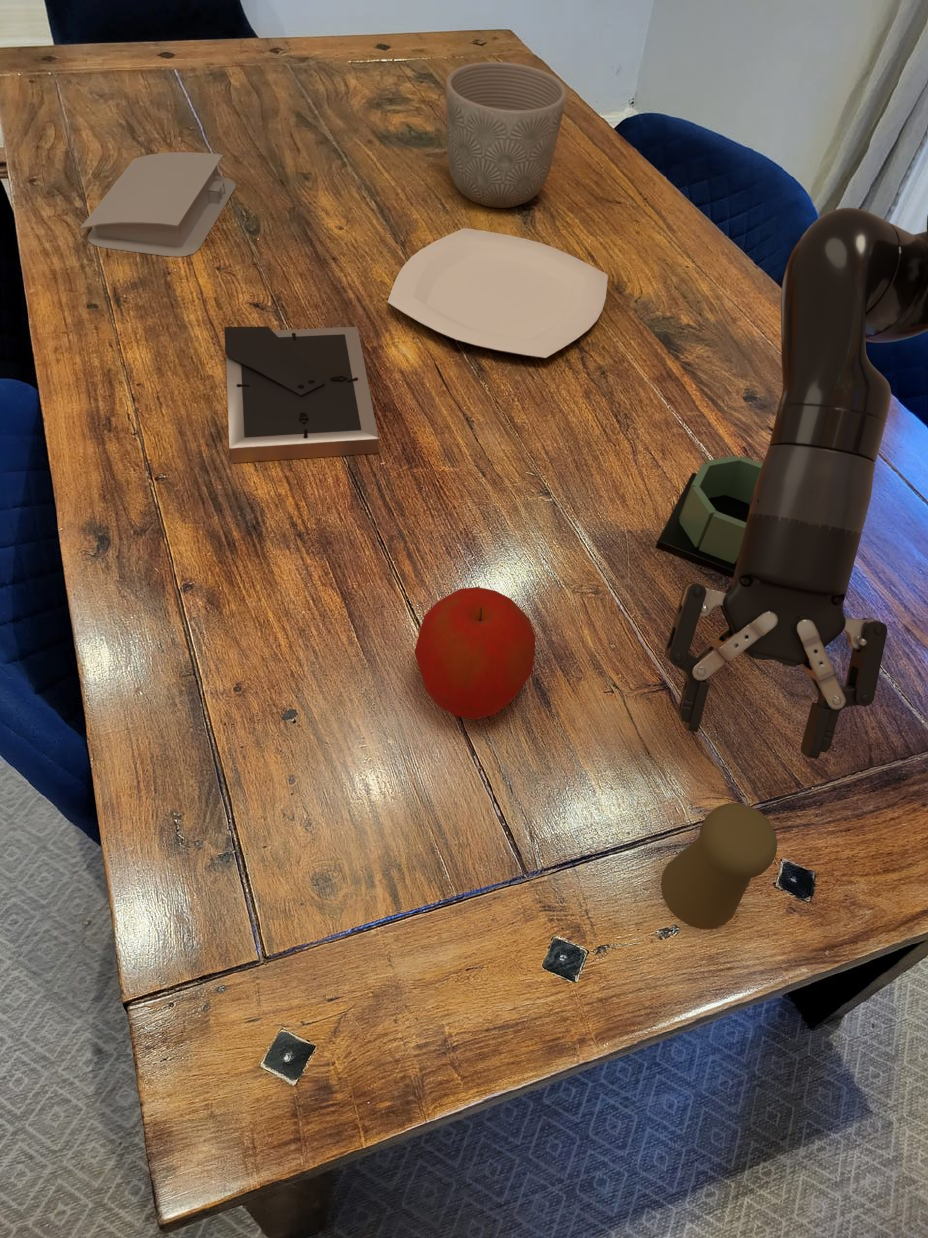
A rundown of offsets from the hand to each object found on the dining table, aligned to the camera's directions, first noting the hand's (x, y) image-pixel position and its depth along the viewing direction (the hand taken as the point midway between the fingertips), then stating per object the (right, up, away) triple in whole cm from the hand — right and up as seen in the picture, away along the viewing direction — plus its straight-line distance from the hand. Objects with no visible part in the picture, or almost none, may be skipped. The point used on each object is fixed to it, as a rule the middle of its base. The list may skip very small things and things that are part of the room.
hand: (749, 742), depth 63 cm
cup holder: (+7, +18, +30) cm, 35 cm away
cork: (-2, -12, +5) cm, 14 cm away
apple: (-20, +3, +15) cm, 25 cm away
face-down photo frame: (-39, +34, +38) cm, 65 cm away
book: (-63, +67, +61) cm, 110 cm away
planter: (-16, +74, +71) cm, 104 cm away
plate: (-16, +51, +54) cm, 76 cm away
